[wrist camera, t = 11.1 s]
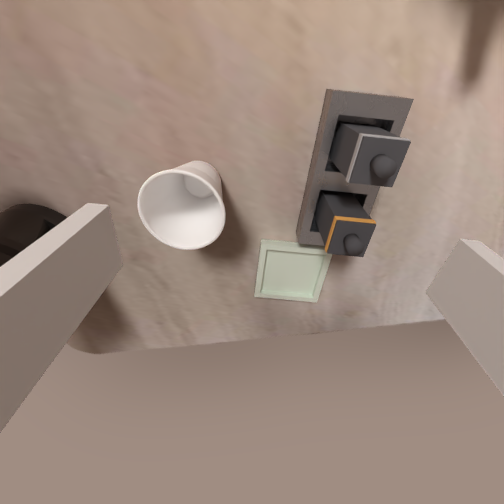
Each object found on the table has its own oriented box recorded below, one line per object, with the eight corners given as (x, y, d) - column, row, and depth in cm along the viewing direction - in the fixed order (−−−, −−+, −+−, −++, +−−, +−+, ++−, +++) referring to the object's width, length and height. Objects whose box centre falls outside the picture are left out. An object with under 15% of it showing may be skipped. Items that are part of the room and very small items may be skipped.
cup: (247, 189, 39) (243, 224, 30) (198, 222, 42) (180, 262, 33) (204, 130, 34) (183, 149, 25) (152, 172, 38) (118, 203, 29)
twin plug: (328, 158, 35) (354, 190, 25) (338, 120, 33) (370, 139, 23) (362, 161, 35) (401, 195, 25) (374, 124, 33) (423, 145, 23)
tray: (254, 291, 50) (254, 296, 49) (261, 239, 43) (261, 243, 42) (315, 296, 51) (316, 302, 49) (331, 245, 44) (333, 250, 43)
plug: (313, 217, 40) (329, 263, 30) (320, 188, 38) (341, 229, 28) (342, 220, 40) (369, 267, 31) (352, 192, 38) (384, 233, 28)
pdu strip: (295, 231, 42) (298, 243, 40) (326, 88, 31) (333, 90, 28) (349, 237, 43) (356, 248, 40) (399, 96, 31) (413, 99, 29)
